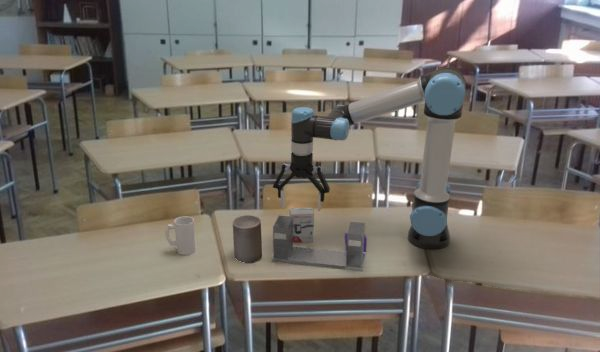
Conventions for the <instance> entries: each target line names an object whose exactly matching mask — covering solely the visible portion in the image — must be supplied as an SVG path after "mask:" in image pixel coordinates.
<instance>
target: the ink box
mask: <svg viewBox="0 0 600 352" xmlns="http://www.w3.org/2000/svg"><path fill="white" fill-rule="evenodd" d="M289 216H291V217H293V244H296V243H298V244H299V243H313V242H314V238H315V237H314V234H315V231H314V229H315V228H314V226H315V212H314V209H313V207H291V208H289Z"/></svg>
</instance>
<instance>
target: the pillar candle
mask: <svg viewBox="0 0 600 352" xmlns="http://www.w3.org/2000/svg"><path fill="white" fill-rule="evenodd" d="M231 222H232V223H231V224H232V234H233V235H232V237H233V252H234V259H235V258H236V259H237V260H238V261H237V260H236V259H235V260H236V261H237V262H239V261H241V262H240V263H242V262H245V263H244V264H253V263H256V262H258V261H260V260H261V259H262V257H263V249H262V248H263V247H262V246H263V243H262V242H263V241H262V240H263V239H262V222H261V219H260V218H259V217H258V216H255V215H241V216H237V217H236V218H234V219H233V220H232V221H231Z"/></svg>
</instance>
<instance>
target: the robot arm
mask: <svg viewBox="0 0 600 352" xmlns="http://www.w3.org/2000/svg"><path fill="white" fill-rule="evenodd" d="M466 86H467V83H466V79H465V76H464V74H462V72H461V71H459V69H457V68H454V67H450V66H445V67H440V68H438V69H436V70H433V71H431V72H428V73H426V74H424V75H421V76H419V77H418V79H417V80H416V81H412V82H409V83H406V84H403V85H401V86H398V87H395V88H391V89H388V90H386V91H382V92H381V93H376V94H374V95H371V96H368V97H365V98H362V99H359V100H356V101H354V102H350V103H348V104H345V105H344V104H340V105H337V106H335V107H333V109H331V110H330V113H329V114H328V115H326V116H324V115H316V114H315V111H314V109H313V108H311V107H306V106H304V107H295V108H294V109H293V110H292V112H291V121H290V125H291V126H290V127H291V128H290V129H291V139H290V142H291V144H290V150H291V154H290V157H291V158H290V164H288V163H287V162H283V164H282V165H281V170H280V172H279V174H278V176H277V178H276V179H275V181H274V183H273V185H272V188H273V189H277V197H278V199H280V208H284V206H285V188H284V187H285V186H287V184H288V183H289V182H290V181H291V180H292V179H293V178H294V177H295V178H298V179H306V178H307V179H308V180H309V181H310V182H311V183H312V185H313V186H314V187H315V188H316V189H317V191H318V197H317V199H318V200H317V212H321V209H322V203H323V202H324V201H325V195H326V194H329V192H330V190H331V189H330V186H329V183H328V182H327V181H328V180H326V177H325V175H324V172H323V171H322V170H323V169H322V165H318V166H314V164H313V162H314V161H313V159H314V158H313V157H314V156H313V155H314V154H313V151H314V139H323V140H331V141H346V140H347V138H348V137H349V133H350V127H351V126H354V125H357V124H360V123H363V122H365V121H370V120H372V119H376V118H380V117H382V116H384V115H387V114H390V113H395V112H397V111H398V112H399V111H400V110H403V109H406V108H410V107H412V106H416V105H419V104H422V103H424V109H423V116H424V117H425V118H426V119H427V123H426V130H425V131H426V133H425V138H424V146H423V148H424V149H423V155H422V157H423V158H422V164H421V165H422V166H421V173H420V180H419V181H418V182H417V183H416V186H415V187H416V188H415V190H414V193H413V201H412V209H411V213H410V215H409V216H410V217H409V220H410V227H409V229H408V231H407V240H408V241H409V243H411V244H412V245H414V246H416V247H419V248H421V249H424V250H425V249H427V250H440V249H443V248H446V247H448V245H449V244H450V240H451V235H450V230H449V227H448V213H449V204H450V197H451V196H450V195H451V185H450V184H449V183H448V177H449V172H450V165H451V164H450V163H451V159H452V158H451V157H452V149H453V143H454V142H453V141H454V136H455V135H454V134H455V127H456V122H458V121H459V120H460V119H461V118H462V114H463V107H464V102H465V99H466ZM288 170H290V171H291V172H290V174H289V175H288V176H287V177H286V178H285V179H283V181H282V182H281V183H280V181H281V179H282V177H283V176H284V174H285V172H286V171H288ZM313 171H314V172H315V173H316V174H317V177H318V179H319V180H320V181H318V179H317V178H316V177H315V175H314V174H313ZM279 183H280V184H279Z"/></svg>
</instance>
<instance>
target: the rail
mask: <svg viewBox="0 0 600 352" xmlns="http://www.w3.org/2000/svg"><path fill="white" fill-rule="evenodd" d="M365 228H366V223H365V222H359V221H350V222H349V226H348V231H347V232H346V233H347V251H345V250H332V249H324V248H313V247H312V248H311V247H304V246H303V247H302V246H301V247H300V246H294V243H293V217H291V216H290V215H289V216H288V215H278V216H277V218H276V220H275V222H274V224H273V227H272V238H273V239H272V240H273V241H272V245H273V246H272V247H273V249H272V251H273V252H272V253H273V255H272V258H271V263H276V264H277V263H279V264H280V263H281V264H287V265H289V264H290V265H298V266H299V265H300V266H308V267H318V268H327V269H328V268H329V269H338V270H349V271H357V272H359V271H360V272H363V270H364V263H365V258H366V252H364V234H365V235H366V233H365V230H366V229H365Z"/></svg>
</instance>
